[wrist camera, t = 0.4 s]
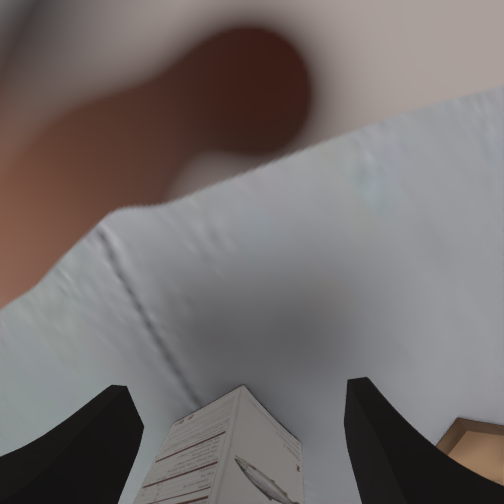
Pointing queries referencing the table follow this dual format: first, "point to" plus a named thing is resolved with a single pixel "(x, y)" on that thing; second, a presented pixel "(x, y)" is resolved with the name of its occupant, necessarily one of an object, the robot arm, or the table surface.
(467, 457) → the wooden base
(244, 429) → the supplement box
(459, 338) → the table surface
